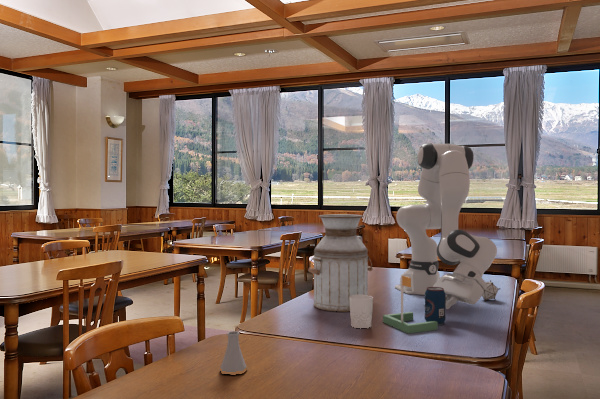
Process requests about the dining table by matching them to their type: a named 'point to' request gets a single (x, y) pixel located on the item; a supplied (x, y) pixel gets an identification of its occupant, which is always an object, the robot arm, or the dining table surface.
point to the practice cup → (407, 316)
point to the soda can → (435, 305)
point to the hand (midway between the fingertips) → (443, 307)
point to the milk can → (339, 264)
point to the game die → (490, 291)
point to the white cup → (361, 310)
